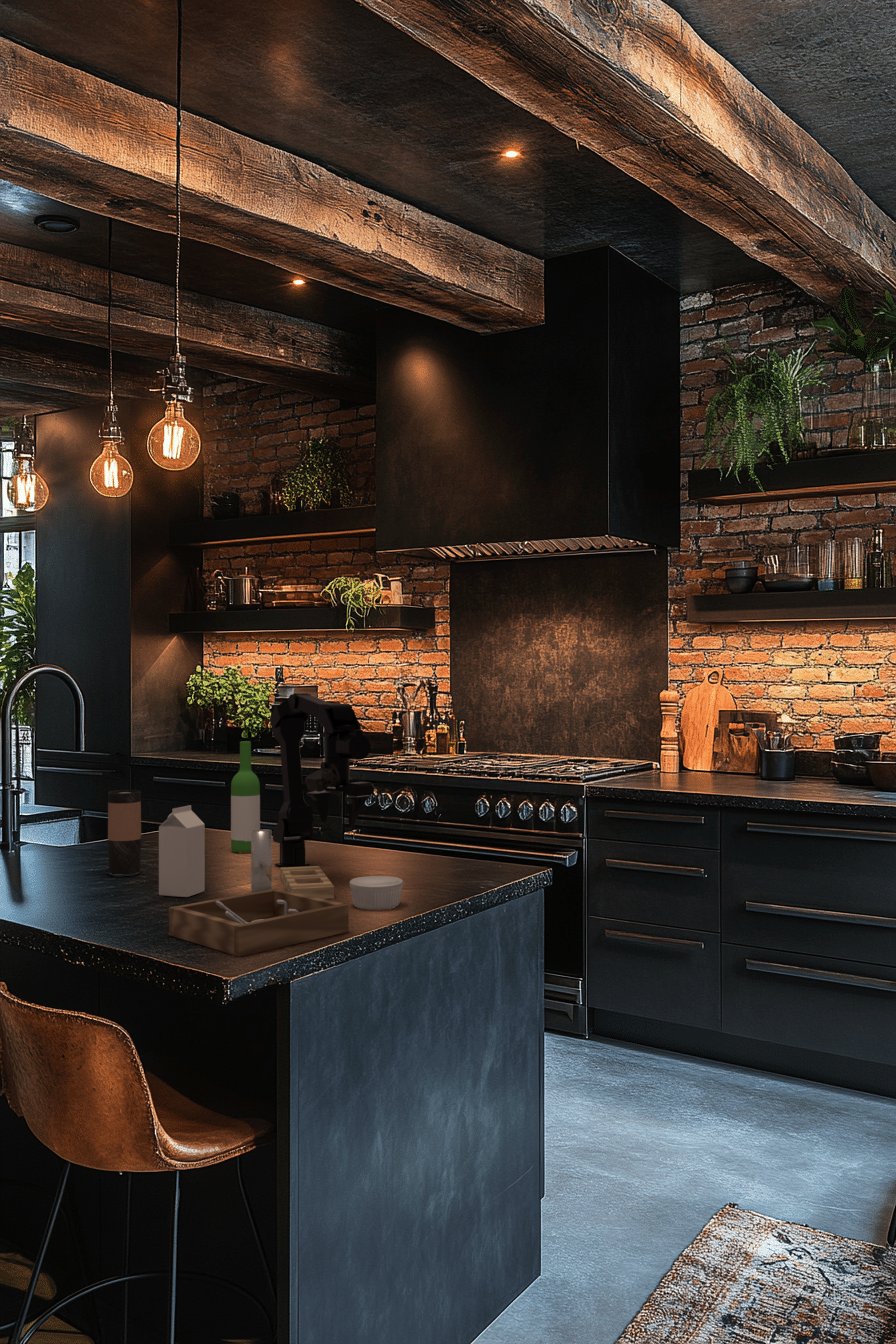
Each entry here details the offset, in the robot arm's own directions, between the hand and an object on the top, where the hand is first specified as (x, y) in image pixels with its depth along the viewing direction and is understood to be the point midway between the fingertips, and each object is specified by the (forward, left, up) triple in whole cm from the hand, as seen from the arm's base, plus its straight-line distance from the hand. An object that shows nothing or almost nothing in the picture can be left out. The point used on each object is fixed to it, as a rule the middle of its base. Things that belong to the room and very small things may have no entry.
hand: (337, 824), depth 247 cm
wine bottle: (-50, +9, -13) cm, 52 cm away
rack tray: (+29, -44, -13) cm, 54 cm away
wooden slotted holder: (+2, -11, -13) cm, 17 cm away
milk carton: (-13, -34, -13) cm, 38 cm away
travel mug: (-43, -31, -13) cm, 54 cm away
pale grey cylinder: (+1, -23, -13) cm, 26 cm away
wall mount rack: (+29, -44, -14) cm, 54 cm away
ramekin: (+27, -13, -13) cm, 33 cm away
